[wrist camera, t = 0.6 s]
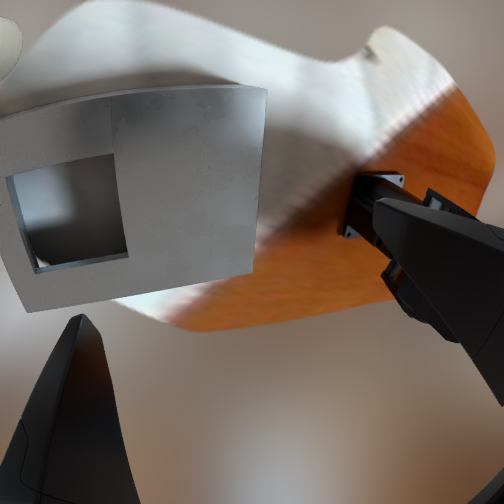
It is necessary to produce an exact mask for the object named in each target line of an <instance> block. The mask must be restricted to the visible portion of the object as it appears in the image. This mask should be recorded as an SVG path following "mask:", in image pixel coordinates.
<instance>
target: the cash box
mask: <svg viewBox="0 0 504 504" xmlns="http://www.w3.org/2000/svg"><path fill="white" fill-rule="evenodd" d="M266 99H267V89H264V88H259V87H254V86H248V85H242V84H193V85H172V86H158V87H147V88H137V89H128V90H121V91H113V92H107V93H100V94H94V95H89V96H83V97H78V98H73V99H68V100H64V101H59V102H55V103H51V104H47V105H43V106H39V107H35V108H31V109H28V110H24V111H21V112H17V113H14V114H11V115H8V116H5V117H2V118H0V255H1V258H2V260H3V262H4V265H5V267H6V270H7V272H8V274H9V277H10V279H11V281H12V283H13V285H14V287H15V290H16V292H17V294H18V296H19V298H20V300H21V302H22V304H23V306H24V308H25V310H26V312H27V313H32V312H38V311H44V310H50V309H57V308H63V307H69V306H75V305H81V304H86V303H93V302H98V301H104V300H110V299H116V298H122V297H127V296H133V295H138V294H144V293H149V292H155V291H160V290H166V289H171V288H177V287H182V286H187V285H193V284H198V283H203V282H208V281H213V280H219V279H224V278H229V277H234V276H239V275H244V274H249V273H252V272H253V260H254V248H255V236H256V224H257V211H258V199H259V187H260V174H261V162H262V149H263V137H264V124H265V112H266ZM113 153H114V162H115V171H116V180H117V188H118V195H119V202H120V209H121V216H122V222H123V228H124V234H125V239H126V245H127V250H128V252H125V253H119V254H114V255H108V256H102V257H97V258H91V259H85V260H80V261H74V262H69V263H64V264H58V265H53V266H47V267H42V268H40V267H39V265H38V262H37V259H36V256H35V254H34V251H33V248H32V245H31V242H30V239H29V236H28V233H27V229H26V226H25V223H24V219H23V216H22V212H21V209H20V205H19V201H18V197H17V193H16V189H15V184H14V180H13V175H14V174H18V173H22V172H26V171H30V170H34V169H38V168H42V167H46V166H51V165H55V164H60V163H64V162H69V161H74V160H79V159H84V158H90V157H95V156H101V155H107V154H113Z"/></svg>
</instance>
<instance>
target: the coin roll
mask: <svg viewBox="0 0 504 504" xmlns="http://www.w3.org/2000/svg"><path fill="white" fill-rule="evenodd" d="M22 45H23V36H22V32H21V29H20V27H19V26H18V25H17V24H16V23H15V22H14V21H11V20H8V19H6V18H3V17H0V81H2V80H3V79H4V78H5V77H6V76H7V75H8V74H9V73H10V72H11V71H12V69H13V68H14V67H15V65H16V63H17V61H18V59H19V56H20V54H21V51H22Z"/></svg>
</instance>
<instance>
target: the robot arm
mask: <svg viewBox="0 0 504 504" xmlns="http://www.w3.org/2000/svg"><path fill="white" fill-rule="evenodd" d="M360 179H361V180H360ZM404 179H405V178H404V175H402V174H396V173H380V174H358V175H357V176H356V177H355V180H354V185H353V189H352V194H351V199H350V203H349V208H348V212H347V216H346V220H345V225H344V229H343V233H342V235H343V237H344V238H346V239H351V238H356V237H363V238H364V239H365V240H366V241H368V242H369V243H370V244H371V245H372V246H375V247H376V248H377V249H379V250H380V251H381V252H382V253H383V254H384V255H385V256H387V257H388V258H389V259H391V261H390V263H389V264H388V266H387V268H386V269H385V271H383V272H382V274H381V278H382V279H383V280H384V282H385V284H386V286H387V287H388V288H389V290H390V291H391V293H392V294H393V296H394V297H395V299H396V300H397V302H398V303H399V305H400V306H401V308H402V309H403V311H404V312H405V313H407V315H408V316H409V317H410V318H415V319H417V320H418V321H420V322H423V323H426V324H430V325H431V326H432V327H433V328H434V329H435V330H436V331H437V332H439V334H440V335H441V336H442V337H443V338H444V339H445V340H447V341H450V342H454V343H460V344H461V345H462V346H463V348H464V349H465V351H466V352H467V354H468V355H469V357H470V358H471V359H472V361H473V363H474V364H475V366H476V367H477V369H478V370H479V372H480V373H481V375H482V377H483V378H484V380H485V381H486V383H487V384H488V386H489V388H490V389H491V391H492V393H493V394H494V396H495V398H496V399H497V401H498V403H499V404H500V405H501V406H502V407H503V406H504V229H503V228H500V227H496V226H493V225H490V224H485V223H482V222H481V221H479V220H478V219H477V218H475V217H474V216H472V215H471V214H469V213H468V212H467V211H465V210H464V209H462V208H461V207H459V206H457V205H456V204H454V203H453V202H451V201H450V200H448V199H446V198H445V197H443V196H442V195H440V194H438V193H437V192H435V191H433V190H432V189H430V188H428V190H427V192H426V196H425V198H424V200H423V201H422V200H420V199H419V198H417V197H415V196H414V195H412V194H411V193H409V192H408V191H406V190H404V189H403V188H402V187H403V183H404ZM21 418H22V419H20V420H19V422H18V426H17V427H16V430H15V432H14V435H13V437H12V440H11V442H10V445H9V447H8V449H7V451H6V454H5V456H4V459H3V461H2V463H1V465H0V504H141V503H140V500H139V497H138V493H137V490H136V487H135V484H134V480H133V477H132V473H131V469H130V466H129V462H128V458H127V454H126V450H125V446H124V442H123V437H122V433H121V428H120V423H119V418H118V412H117V407H116V401H115V395H114V390H113V385H112V380H111V376H110V372H109V368H108V364H107V359H106V355H105V350H104V346H103V341H102V337H101V335H100V333H99V331H98V330H97V329H96V327H95V326H94V325H93V323H92V322H91V321H90V320H89V319H88V317H87V316H86V315H85V314H79V315H76V316H74V317H72V318H71V319H70V320H69V322H68V324H67V326H66V328H65V329H64V331H63V333H62V335H61V336H60V338H59V340H58V342H57V344H56V345H55V347H54V349H53V351H52V353H51V355H50V357H49V358H48V361H47V362H46V364H45V366H44V368H43V370H42V372H41V374H40V376H39V378H38V380H37V382H36V384H35V387H34V389H33V391H32V393H31V395H30V397H29V400H28V402H27V404H26V406H25V408H24V411H23V413H22V415H21ZM467 504H504V467H503V469H502V470H501V471H500V472H499V473H498V474H497V475H496V476H495V477H494V478H493V479H492V480H491V482H489V483H488V484H487V485H486V486H485V487H484V488H483V489H482V490H481V491H480V492H479V493H478V494H477V495H476V496H475V497H474V498H473V499H471V500H470V501H469V502H468V503H467Z"/></svg>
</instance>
